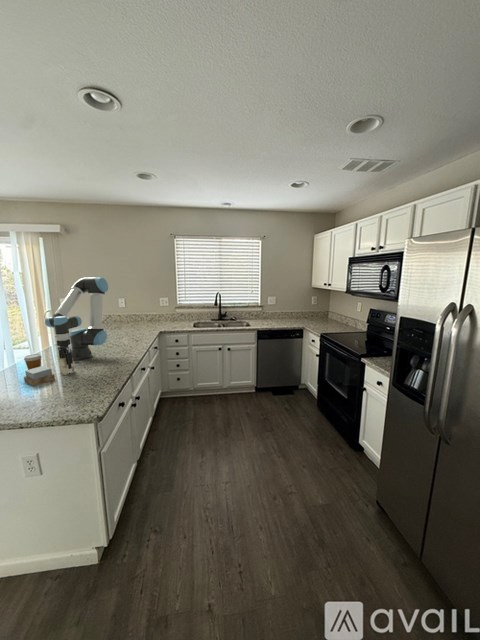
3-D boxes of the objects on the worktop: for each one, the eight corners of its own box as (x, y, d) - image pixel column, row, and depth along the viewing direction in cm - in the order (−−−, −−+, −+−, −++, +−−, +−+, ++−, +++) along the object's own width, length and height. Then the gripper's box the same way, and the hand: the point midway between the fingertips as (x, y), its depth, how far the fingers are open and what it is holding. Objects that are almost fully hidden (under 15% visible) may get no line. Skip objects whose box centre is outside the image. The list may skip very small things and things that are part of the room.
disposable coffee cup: (29, 371, 181) (26, 354, 179) (45, 369, 185) (43, 353, 182) (23, 376, 173) (20, 359, 170) (41, 374, 176) (38, 357, 174)
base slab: (46, 376, 173) (45, 370, 173) (55, 380, 167) (54, 374, 166) (24, 382, 164) (23, 376, 163) (32, 387, 157) (31, 380, 156)
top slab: (44, 371, 171) (43, 365, 171) (52, 374, 166) (51, 368, 166) (26, 376, 163) (25, 370, 162) (33, 379, 158) (32, 373, 157)
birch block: (70, 370, 183) (68, 356, 181) (74, 372, 179) (72, 358, 178) (60, 373, 178) (58, 359, 176) (65, 374, 174) (63, 360, 173)
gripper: (50, 338, 176) (55, 371, 180) (63, 342, 166) (68, 376, 170) (62, 336, 182) (66, 367, 187) (76, 340, 172) (80, 373, 177)
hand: (67, 371), depth 178 cm, fingers closed on birch block, 6 cm apart
